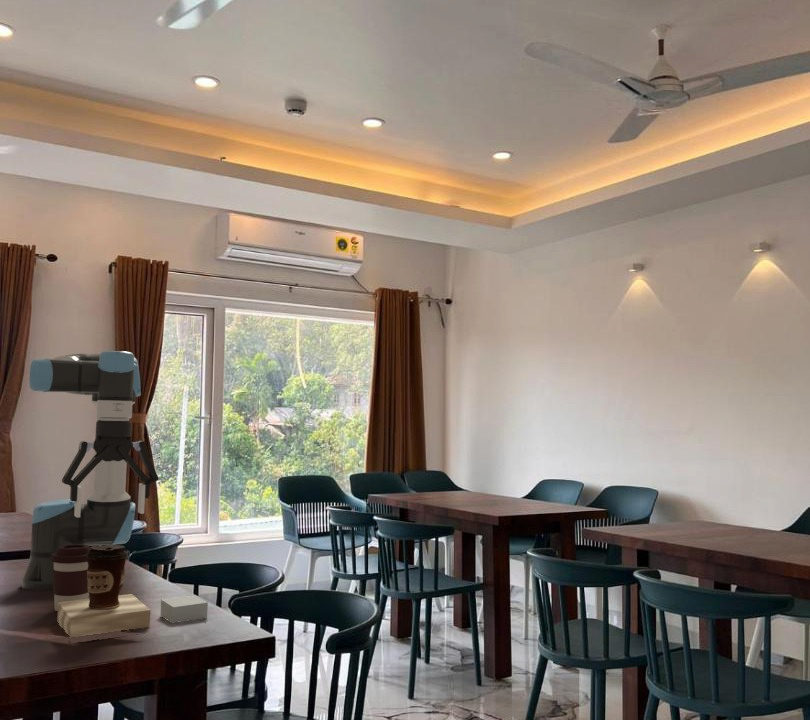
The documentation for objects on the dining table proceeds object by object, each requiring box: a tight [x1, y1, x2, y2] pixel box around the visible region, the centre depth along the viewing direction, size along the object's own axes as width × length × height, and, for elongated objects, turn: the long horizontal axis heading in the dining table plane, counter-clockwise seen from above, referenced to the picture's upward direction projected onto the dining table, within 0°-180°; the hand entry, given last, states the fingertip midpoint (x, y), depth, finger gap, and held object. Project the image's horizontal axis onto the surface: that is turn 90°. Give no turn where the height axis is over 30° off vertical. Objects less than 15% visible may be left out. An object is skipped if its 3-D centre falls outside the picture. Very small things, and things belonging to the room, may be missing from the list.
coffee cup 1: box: [51, 544, 91, 612], centre depth 184 cm, size 10×10×15 cm
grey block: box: [160, 594, 209, 623], centre depth 175 cm, size 8×8×5 cm
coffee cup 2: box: [86, 544, 129, 609], centre depth 168 cm, size 9×8×13 cm
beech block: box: [56, 593, 151, 638], centre depth 168 cm, size 16×16×5 cm
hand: (109, 514), depth 171 cm, fingers open, 13 cm apart
